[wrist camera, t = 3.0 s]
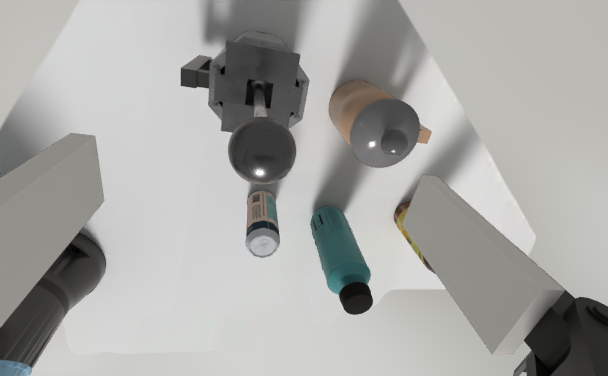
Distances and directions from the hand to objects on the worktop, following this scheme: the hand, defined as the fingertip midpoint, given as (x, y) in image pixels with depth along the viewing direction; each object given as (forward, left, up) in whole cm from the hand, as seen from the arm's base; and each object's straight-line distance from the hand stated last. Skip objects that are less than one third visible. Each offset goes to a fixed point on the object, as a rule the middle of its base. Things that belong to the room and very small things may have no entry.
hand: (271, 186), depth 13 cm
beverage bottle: (+15, -23, -34) cm, 44 cm away
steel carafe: (-2, 0, -34) cm, 34 cm away
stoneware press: (+16, -3, -34) cm, 37 cm away
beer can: (+3, -21, -34) cm, 40 cm away
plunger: (0, 0, -22) cm, 22 cm away
